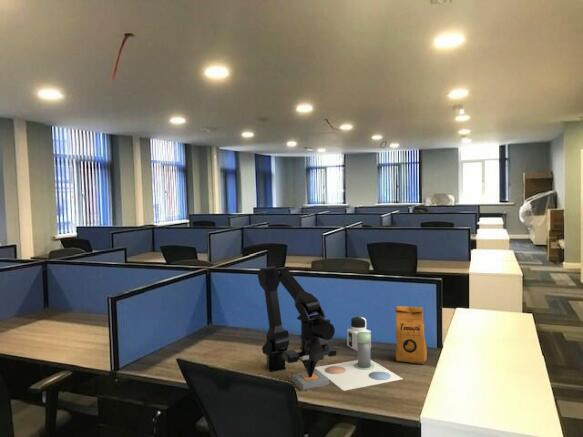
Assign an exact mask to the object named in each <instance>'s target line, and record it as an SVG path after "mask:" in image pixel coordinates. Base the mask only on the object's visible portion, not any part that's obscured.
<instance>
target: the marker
mask: <svg viewBox="0 0 583 437" xmlns="http://www.w3.org/2000/svg"><path fill="white" fill-rule="evenodd" d="M370 342H371V343H372V333H371V334H370V333H368V332H359V333H357V353H356V354H357V358H356V359H357V360H358V367H360V368H369V367H371V360H372V358H371V357H372V356H371V355H372V354H371V348H370Z"/></svg>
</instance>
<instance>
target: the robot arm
mask: <svg viewBox="0 0 583 437" xmlns="http://www.w3.org/2000/svg"><path fill="white" fill-rule="evenodd" d="M257 278H258V283H259V286H260V287H261V288H262V289H263V291H264V296H265V298H264V299H265V304H266V312H267V320H268V330H267V333H266V338H265V339H266V342H265V343H264V345H263V346H262V347H261V350H262V353H263V355H265V356H266V364H265V366H264V367H265V368H266V369H267V370H268V371H269V372H276V371H282V370H286V369H287V367H286V363H288V364H293V363H297V362H299V361H300V362H301V363H302V364H303V366H304V369H305V372H307V374H308V376H309V377H312V375H313V372H314V370H316V369H315V367H317V364H318V362H319V361H323V360H324V359H325V356H328V357H329V358H330V357H336V356H337V349H336V347H335V346H334V345H332V344H330V343H322V344H321V343H320V339H322V340H325V341H330V340H331V339H333V337H334V336H335V331H336V329H335V326H334V325H333V324H332V323H331V320H330V319H329V318H326V314H325V311H324V310H323V308H322V305H321V303H320V301H319V299H317V297H316V296H314V295H313V294H312V293H309V292H307V291H305V289H304V288H303V287H302V286H301V284H300V283H299V282H298V281H297V279H296V278H295V277H294V276H293V274H292V273H291V272H290V268H288V267H287V266H286V267H285V266H283V267H276V266H267V267H262V268H259V270H258V271H257ZM280 284H281V285H282V286H283V288H284V289H285V290H286V291H287V292H288V294H289V295H290V296H291V298H293V300H294V307H295V309H296V310H297V313H298V314H299V315H298V316H297V317H296V320H299V321H300V335H299V338H300V339H301V340H300V341H301V343H300V344H301V345H300V347H299V349H300V350H301V351H296V350H295V349H289V345H290V340H291V339H290V337H289V336H290V335H289V330H287V329H285V328H284V326H283V322H282V317H281V316H282V314H281V307H280V301H279V300H280V299H279V293H278V288H279V285H280Z"/></svg>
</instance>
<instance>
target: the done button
mask: <svg viewBox="0 0 583 437" xmlns="http://www.w3.org/2000/svg"><path fill="white" fill-rule="evenodd" d="M301 377H302V378H303V379H305V380H306V381H309V380H314V379H320V378H319V377H318V376H316V375H315V374H314V373H313V375H312V377H309V376H308V374H307V375H301Z"/></svg>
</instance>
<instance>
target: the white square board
mask: <svg viewBox="0 0 583 437" xmlns="http://www.w3.org/2000/svg"><path fill="white" fill-rule="evenodd" d="M314 370H318V371H319V372H320V373H322V374H323V375H324V376H325V377H327V378H328V379H329V381H331V382H332V383H333V384H334V385H336V386H337V387H338V388H339V389H341V390H342V391H343V392H344V391H350V390H355V389H359V388H360V389H361V388H364V387H365V388H366V387H372V386H375V385H380V384H384V383H390V382H394V381H399V380H403V379H404V378H402V377H401V376H399V375H397V374H396V373H394V372H392V371H390V370H389V369H388V368H386V367H384V366H382V365H381V364H379V363H377V362H375V361H373V360H372V359H371V367H369V368H360V367H358V359H356V360H351V361H349V360H348V361H344V362H338V363H333V364H327V365H322V366H321V365H320V366H315V369H314Z"/></svg>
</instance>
